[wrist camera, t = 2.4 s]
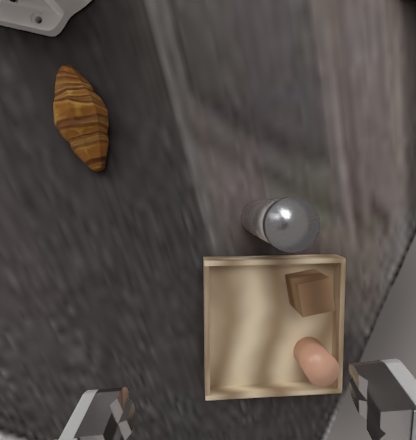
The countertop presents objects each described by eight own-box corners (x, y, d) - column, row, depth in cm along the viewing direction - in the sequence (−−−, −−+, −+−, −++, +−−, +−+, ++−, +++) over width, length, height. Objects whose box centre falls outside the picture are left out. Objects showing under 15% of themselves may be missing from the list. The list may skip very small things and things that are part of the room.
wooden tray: (204, 375, 36) (205, 400, 31) (202, 253, 35) (204, 261, 30) (324, 370, 37) (341, 392, 33) (326, 251, 36) (345, 258, 31)
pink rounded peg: (293, 365, 33) (306, 387, 29) (293, 337, 33) (307, 355, 29) (321, 364, 34) (338, 385, 30) (322, 336, 33) (339, 354, 29)
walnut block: (289, 303, 33) (302, 317, 29) (284, 274, 33) (297, 284, 29) (318, 297, 33) (335, 310, 29) (313, 268, 33) (330, 277, 29)
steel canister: (240, 236, 35) (265, 253, 23) (240, 199, 35) (265, 197, 23) (276, 235, 35) (319, 252, 23) (277, 199, 35) (320, 196, 23)
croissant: (127, 165, 34) (116, 159, 29) (79, 178, 33) (59, 174, 28) (97, 65, 33) (80, 40, 28) (47, 78, 32) (20, 55, 27)
